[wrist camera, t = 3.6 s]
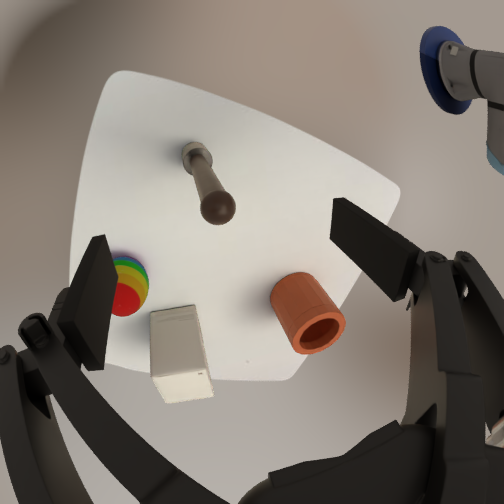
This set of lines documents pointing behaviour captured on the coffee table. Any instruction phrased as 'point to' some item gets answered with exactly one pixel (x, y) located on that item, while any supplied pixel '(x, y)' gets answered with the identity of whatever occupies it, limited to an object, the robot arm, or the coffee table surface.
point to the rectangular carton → (178, 355)
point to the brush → (208, 185)
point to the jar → (306, 313)
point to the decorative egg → (129, 286)
